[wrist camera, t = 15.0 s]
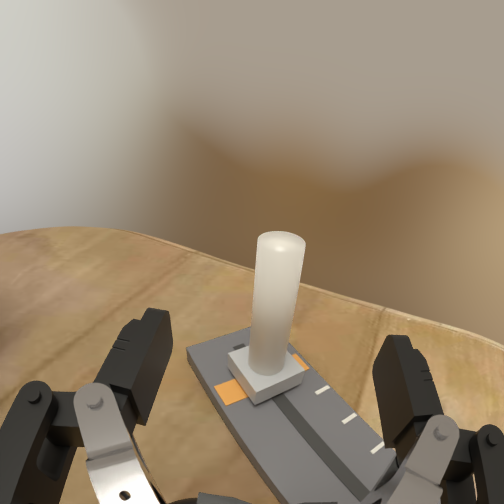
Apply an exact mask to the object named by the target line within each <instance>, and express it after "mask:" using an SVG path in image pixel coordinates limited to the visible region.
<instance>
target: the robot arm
mask: <svg viewBox="0 0 504 504" xmlns="http://www.w3.org/2000/svg"><path fill="white" fill-rule="evenodd" d="M112 347H113V348H112V349H111V350H110V352H109V354H108V356H107V358H106V359H105V361H104V363H103V365H102V367H101V369H100V371H99V373H98V375H97V377H96V378H95V380H94V382H93V383H89V384H86V385H84V386H82V387H81V388H80V389H79V390H78V391H77V392H55V391H52V390H51V389H50V387H49V386H48V385H47V384H46V383H44V382H42V381H31V382H29V383H27V384H25V385H24V386H23V387H22V388H21V389H20V391H19V393H18V395H17V396H16V398H15V400H14V402H13V404H12V406H11V408H10V410H9V412H8V414H7V416H6V418H5V420H4V422H3V424H2V426H1V429H0V504H59V502H60V498H61V495H62V492H63V488H64V485H65V482H66V479H67V476H68V473H69V470H70V467H71V464H72V461H73V458H74V455H75V452H76V449H77V447H85V449H86V452H87V456H88V459H87V460H86V466H87V470H88V473H89V476H90V479H91V482H92V485H93V487H94V490H95V493H96V495H97V498H98V500H99V503H100V504H167V503H166V501H165V499H164V497H163V495H162V493H161V492H160V490H159V488H158V486H157V484H156V482H155V481H154V479H153V477H152V475H151V473H150V471H149V469H148V467H147V465H146V463H145V460H144V458H143V456H142V454H141V452H140V449H139V447H138V445H137V442H136V440H135V438H134V435H133V431H134V428H135V425H136V424H140V425H144V426H146V423H147V420H148V417H149V414H150V411H151V409H152V406H153V403H154V400H155V397H156V395H157V392H158V389H159V386H160V383H161V381H162V378H163V375H164V372H165V370H166V367H167V364H168V362H169V359H170V356H171V353H172V347H173V337H172V330H171V322H170V314H169V311H166V310H160V309H154V308H147V310H146V311H145V313H144V315H143V317H142V319H141V320H136V319H133V320H131V321H130V322H129V323H128V324H127V325H125V326H124V327H123V328H122V330H121V332H120V334H119V335H118V337H117V340H116V341H115V343H114V345H113V346H112ZM429 371H430V370H429V367H428V364H427V361H426V359H425V358H424V356H423V355H422V354H421V353H420V351H419V350H418V349H413V347H412V344H411V342H410V339H409V337H408V336H407V335H388V336H387V337H386V339H385V341H384V343H383V345H382V347H381V349H380V351H379V353H378V355H377V357H376V359H375V361H374V364H373V371H372V374H373V381H374V386H375V391H376V397H377V402H378V408H379V414H380V420H381V426H382V432H383V439H384V446H385V449H386V448H395V449H396V454H395V455H394V457H393V458H392V460H391V461H390V463H389V464H388V466H387V468H386V469H385V471H384V472H383V474H382V475H381V477H380V478H379V480H378V481H377V483H376V484H375V486H374V487H373V489H372V490H371V491H370V493H369V494H368V495H367V496H366V497H365V498H364V499H363V500H362V501H361V502H360V503H359V504H437V503H438V501H439V499H440V501H441V504H504V435H503V433H502V431H501V430H500V429H499V428H498V427H497V426H495V425H491V424H488V425H485V426H483V427H482V428H481V429H480V430H478V431H477V432H475V431H469V430H464V429H459V428H458V426H457V424H456V423H455V421H454V420H453V419H451V418H450V417H448V416H446V415H444V413H443V410H442V407H441V403H440V400H439V397H438V394H437V391H436V388H435V384H434V381H432V380H433V378H432V375H431V373H430V372H429ZM473 474H474V475H475V482H476V488H477V501H476V495H475V488H474V481H473ZM169 504H251V503H248V502H245V501H242V500H239V499H236V498H233V497H225V496H219V495H212V494H206V493H201V492H199V494H198V498H189V499H182V500H178V501H175V502H172V503H169ZM299 504H338V502H304V503H299Z"/></svg>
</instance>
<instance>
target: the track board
mask: <svg viewBox="0 0 504 504" xmlns="http://www.w3.org/2000/svg"><path fill="white" fill-rule="evenodd" d="M250 331H251V327H248V328H245V329H242V330H239V331H236V332H233V333H230V334H227V335H224V336H221V337H218V338H215V339H212V340H209V341H206V342H203V343H199V344H196V345H193V346H190V347H187V348H186V351H187V359H188V362H189V364H190V365H191V367H192V369H193V371H194V372H195V374H196V376H197V378H198V379H199V381H200V383H201V385H202V386H203V388H204V390H205V391H206V393H207V395H208V397H209V398H210V400H211V402H212V403H213V405H214V406H215V408H216V410H217V411H218V413H219V415H220V416H221V418H222V419H223V421H224V423H225V424H226V426H227V427H228V429H229V430H230V432H231V434H232V435H233V437H234V438H235V440H236V441H237V443H238V444H239V446H240V447H241V449H242V450H243V452H244V453H245V455H246V456H247V458H248V459H249V460H250V462H251V463H252V465H253V466H254V468H255V469H256V470H257V472H258V473H259V475H260V476H261V477H262V479H263V480H264V482H265V483H266V484H267V486H268V487H269V488H270V490H271V491H272V492H273V494H274V495H275V496H276V498H277V499H278V500H279V502H280V503H281V504H299V503H304V502H338V504H359V503H360V502H361V501H362V500H363V499H364V498H365V497H366V496H367V495H368V494H369V493H370V491H371V490H372V489H373V487H374V486H375V484H376V483H377V481H378V480H379V478H380V477H381V475H382V474H383V472H384V471H385V469H386V468H387V466H388V464H389V463H390V461H391V460H392V458H393V457H394V455H395V454H396V452H395V451H394V450H393V449H392V448H386V449H385V446H384V440H383V439H382V438H381V437H380V436H379V435H378V434H377V433H376V432H375V431H374V430H373V429H372V428H371V427H370V426H369V425H368V424H367V423H366V422H365V421H364V420H363V419H362V418H361V417H360V416H359V415H358V414H357V413H356V412H355V411H354V410H353V409H352V408H351V407H350V406H349V405H348V404H347V403H346V402H345V401H344V400H343V399H342V398H341V397H340V396H339V395H338V394H337V393H336V392H335V390H334V389H333V388H332V387H331V386H330V385H329V384H328V383H327V382H326V381H325V380H324V379H323V378H322V377H321V376H320V375H319V374H318V373H317V372H316V371H315V370H314V369H313V367H312V366H311V365H310V364H309V363H308V362H307V361H306V360H305V359H304V358H303V357H302V356H301V355H300V354H299V353H298V352H297V350H296V349H295V348H294V347H293V346H292V345H291V344H290V343H289V342H288V347H287V351H288V352H289V353H290V354H291V355H292V356H293V357H294V359H295V360H296V361H297V362H298V363H299V364H300V365H301V366H302V367H303V368H304V369H305V372H304V375H303V379H302V382H301V384H299V385H297V386H295V387H293V388H291V389H288V390H286V391H284V392H282V393H280V394H278V395H276V396H274V397H271V398H269V399H267V400H265V401H263V402H260V403H258V404H256V405H254V403H253V402H252V401H251V399H250V398H249V397H248V395H247V394H246V392H245V391H244V390H243V388H242V387H241V385H240V384H239V382H238V381H237V380H236V378H235V377H234V375H233V374H232V372H231V371H230V369H229V368H228V353H230V352H233V351H235V350H238V349H241V348H244V347H246V346H249V343H250ZM437 504H441V501H440V499H439V501H438V503H437Z"/></svg>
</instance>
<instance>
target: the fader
mask: <svg viewBox="0 0 504 504" xmlns="http://www.w3.org/2000/svg"><path fill="white" fill-rule="evenodd" d="M305 245H306V244H305V242H304V240H303V239H302V238H301V237H299V236H297V235H295V234H292V233H289V232H283V231H271V232H266V233H263V234H262V235H260V236H259V237H258V243H257V256H256V268H255V281H254V293H253V306H252V318H251V331H250V343H249V346H246V347H244V348H241V349H238V350H235V351H233V352H230V353H228V368H229V369H230V371H231V372H232V374H233V375H234V377H235V378H236V380H237V381H238V382H239V384H240V385H241V387H242V388H243V390H244V391H245V392H246V394H247V395H248V397H249V398H250V399H251V401H252V402H253V403H254V405H256V404H258V403H260V402H263V401H265V400H267V399H269V398H271V397H274V396H276V395H278V394H280V393H282V392H284V391H286V390H288V389H291V388H293V387H295V386H297V385H299V384H301V382H302V379H303V375H304V372H305V369H304V368H303V367H302V366H301V365H300V364H299V363H298V362H297V361H296V360H295V359H294V357H293V356H292V355H291V354H290V353H289V352H288V351H287V347H288V342H289V337H290V331H291V326H292V321H293V315H294V310H295V305H296V299H297V293H298V288H299V282H300V276H301V270H302V264H303V258H304V252H305Z"/></svg>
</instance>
